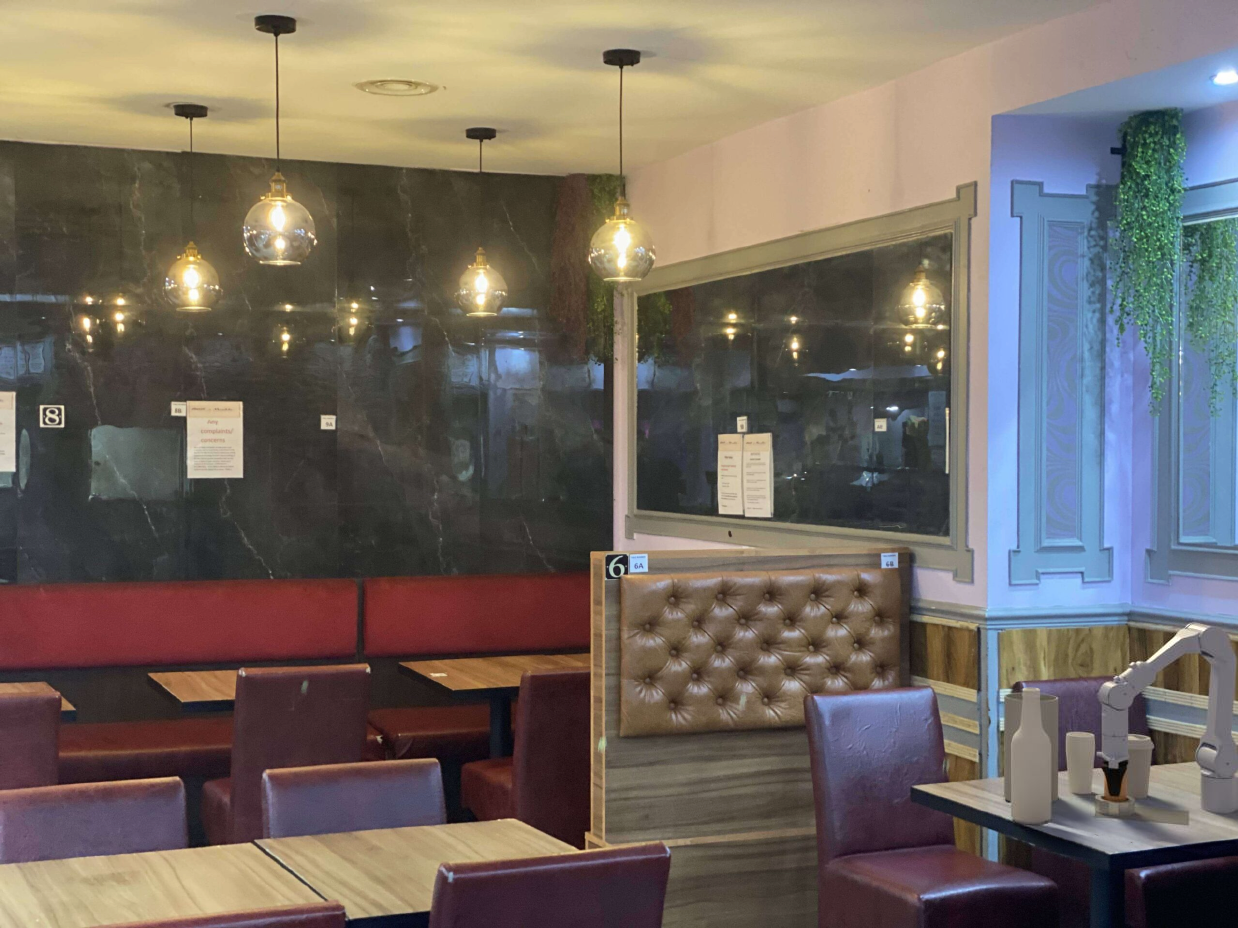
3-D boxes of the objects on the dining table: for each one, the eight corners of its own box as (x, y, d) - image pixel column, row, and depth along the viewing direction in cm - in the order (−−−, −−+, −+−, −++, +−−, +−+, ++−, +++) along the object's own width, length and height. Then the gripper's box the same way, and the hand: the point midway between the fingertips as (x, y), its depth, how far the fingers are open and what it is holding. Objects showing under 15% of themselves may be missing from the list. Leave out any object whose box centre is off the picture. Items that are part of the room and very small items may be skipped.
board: (1093, 820, 326) (1093, 816, 326) (1097, 807, 339) (1097, 802, 339) (1188, 829, 319) (1188, 824, 319) (1188, 814, 332) (1188, 810, 332)
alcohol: (1034, 814, 333) (1034, 684, 332) (1059, 822, 324) (1059, 690, 324) (1003, 817, 329) (1003, 686, 329) (1027, 826, 321) (1027, 692, 321)
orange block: (1112, 796, 334) (1112, 771, 334) (1130, 801, 331) (1130, 775, 331) (1099, 799, 332) (1100, 773, 332) (1118, 803, 328) (1118, 777, 328)
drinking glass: (1096, 799, 347) (1096, 737, 347) (1067, 797, 349) (1067, 736, 349) (1092, 792, 354) (1093, 732, 354) (1064, 791, 355) (1064, 730, 355)
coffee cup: (1154, 804, 342) (1154, 741, 341) (1112, 801, 345) (1112, 739, 345) (1153, 796, 351) (1153, 734, 351) (1112, 793, 354) (1112, 732, 354)
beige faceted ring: (1109, 804, 337) (1109, 792, 337) (1142, 812, 330) (1142, 799, 330) (1087, 810, 332) (1087, 797, 332) (1120, 817, 325) (1120, 804, 325)
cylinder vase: (1066, 799, 347) (1066, 696, 347) (1045, 809, 337) (1045, 702, 337) (1017, 791, 355) (1017, 690, 355) (995, 801, 345) (995, 697, 345)
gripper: (1098, 727, 339) (1098, 785, 339) (1094, 738, 326) (1094, 798, 326) (1130, 730, 337) (1130, 787, 337) (1127, 741, 323) (1127, 801, 323)
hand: (1114, 793), depth 331 cm, fingers closed on orange block, 4 cm apart
